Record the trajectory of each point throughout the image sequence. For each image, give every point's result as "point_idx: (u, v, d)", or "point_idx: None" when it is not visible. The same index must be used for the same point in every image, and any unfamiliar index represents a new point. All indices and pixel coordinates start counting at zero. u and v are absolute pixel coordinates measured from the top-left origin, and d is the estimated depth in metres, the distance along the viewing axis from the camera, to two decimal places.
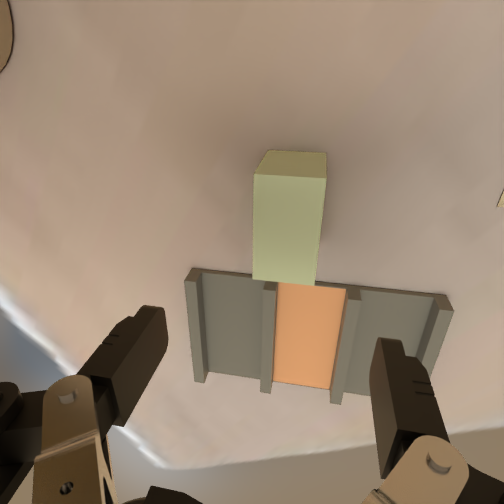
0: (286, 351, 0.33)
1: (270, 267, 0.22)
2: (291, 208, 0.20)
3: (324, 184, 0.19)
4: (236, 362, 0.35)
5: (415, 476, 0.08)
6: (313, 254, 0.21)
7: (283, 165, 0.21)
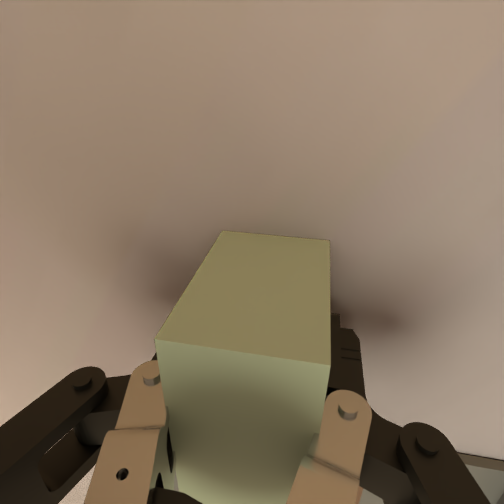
0: None
1: (212, 491, 0.11)
2: (248, 409, 0.09)
3: (325, 376, 0.08)
4: None
5: (324, 421, 0.09)
6: None
7: (236, 293, 0.10)
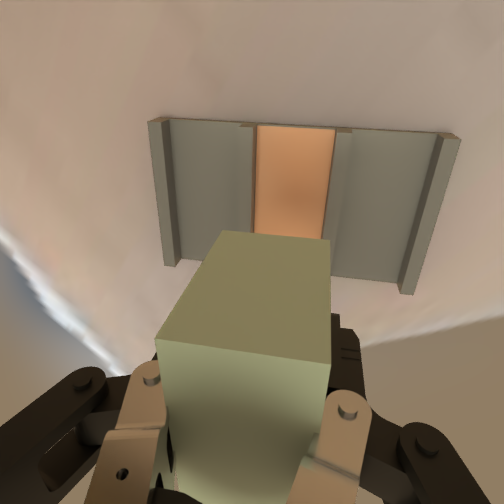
0: (267, 224, 0.29)
1: (213, 491, 0.11)
2: (248, 408, 0.09)
3: (325, 375, 0.08)
4: (211, 243, 0.31)
5: (324, 421, 0.09)
6: None
7: (236, 293, 0.10)
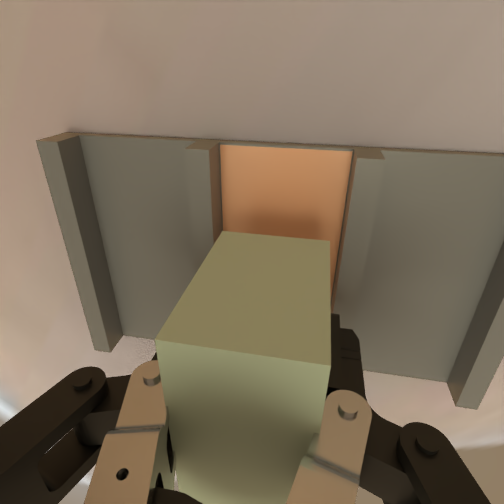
0: None
1: (213, 492, 0.11)
2: (248, 409, 0.09)
3: (325, 376, 0.08)
4: (164, 317, 0.20)
5: (324, 421, 0.09)
6: None
7: (236, 294, 0.10)
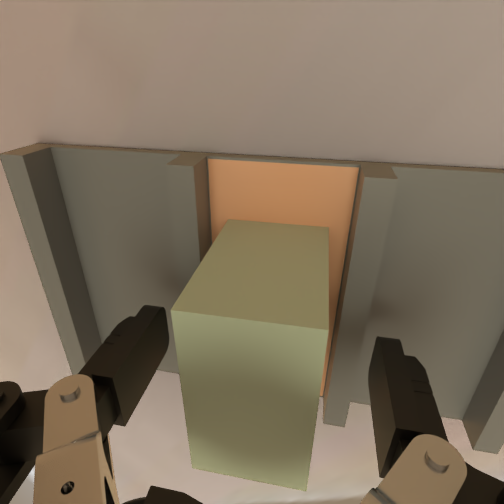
0: None
1: (222, 457, 0.12)
2: (255, 374, 0.10)
3: (323, 340, 0.09)
4: None
5: (414, 475, 0.08)
6: (302, 449, 0.11)
7: (243, 272, 0.11)
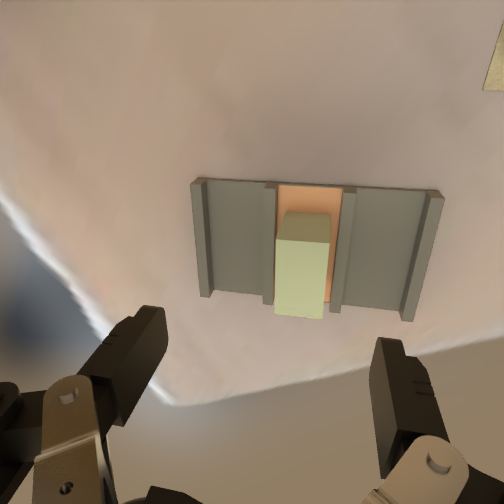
0: None
1: (288, 305, 0.29)
2: (304, 263, 0.27)
3: (328, 247, 0.26)
4: (239, 277, 0.36)
5: (415, 476, 0.08)
6: (320, 296, 0.28)
7: (297, 229, 0.28)
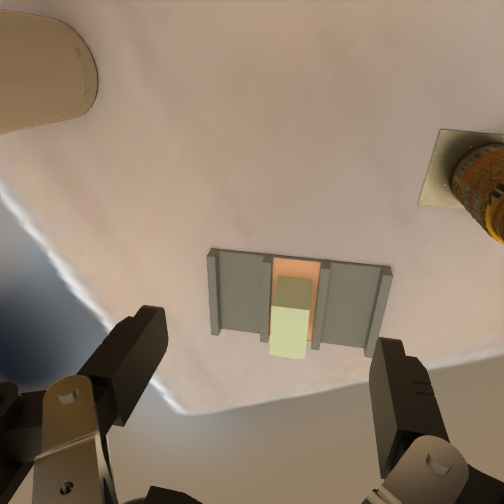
0: None
1: (279, 349, 0.40)
2: (291, 322, 0.37)
3: (308, 312, 0.36)
4: (242, 320, 0.46)
5: (415, 476, 0.08)
6: (303, 344, 0.39)
7: (287, 295, 0.38)
